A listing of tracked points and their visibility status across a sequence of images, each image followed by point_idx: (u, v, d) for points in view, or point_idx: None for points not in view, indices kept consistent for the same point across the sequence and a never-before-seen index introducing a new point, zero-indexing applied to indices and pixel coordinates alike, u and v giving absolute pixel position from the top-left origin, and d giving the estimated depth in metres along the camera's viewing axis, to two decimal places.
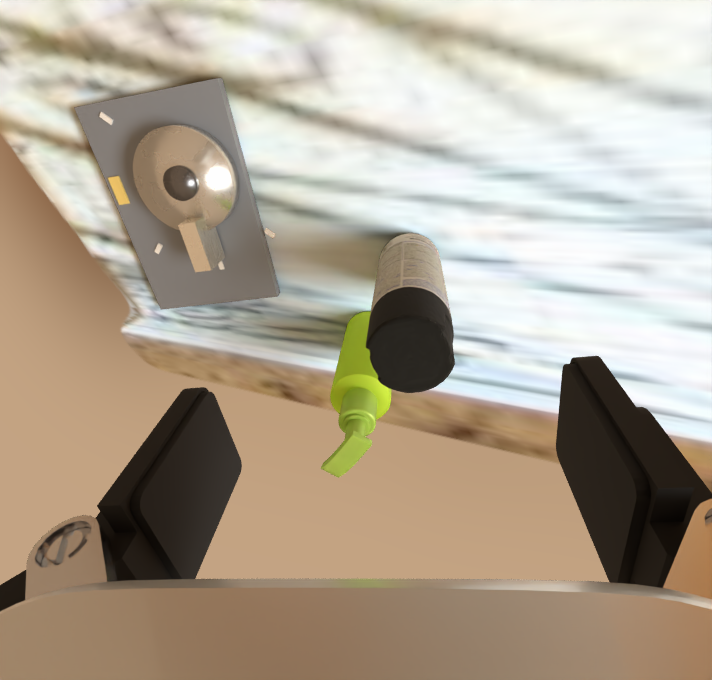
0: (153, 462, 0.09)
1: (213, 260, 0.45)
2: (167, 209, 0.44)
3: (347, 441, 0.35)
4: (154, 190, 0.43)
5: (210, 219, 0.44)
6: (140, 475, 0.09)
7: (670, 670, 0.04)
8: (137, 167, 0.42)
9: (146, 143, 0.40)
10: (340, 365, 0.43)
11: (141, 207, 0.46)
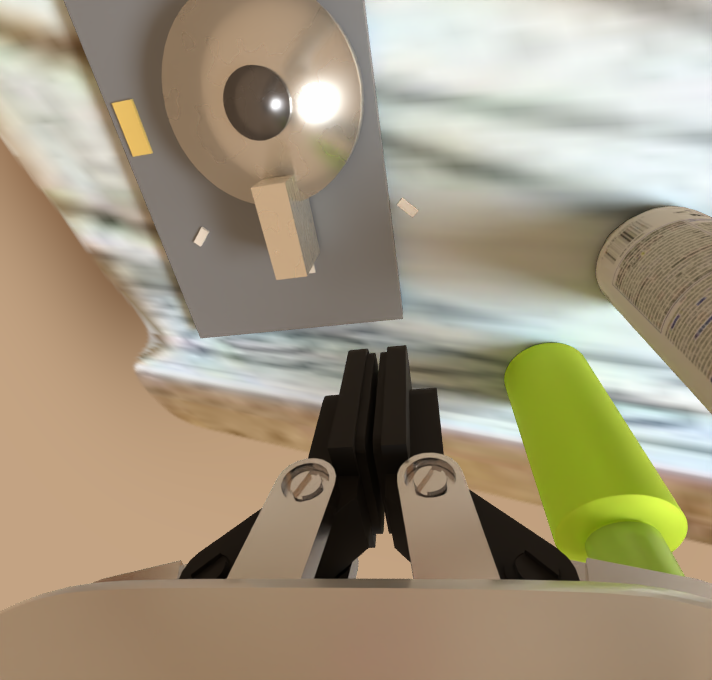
0: (359, 412, 0.09)
1: (308, 257, 0.24)
2: (226, 160, 0.23)
3: None
4: (201, 122, 0.22)
5: (307, 179, 0.23)
6: (356, 422, 0.09)
7: (670, 670, 0.04)
8: (170, 72, 0.21)
9: (190, 17, 0.20)
10: (561, 460, 0.22)
11: (173, 161, 0.25)
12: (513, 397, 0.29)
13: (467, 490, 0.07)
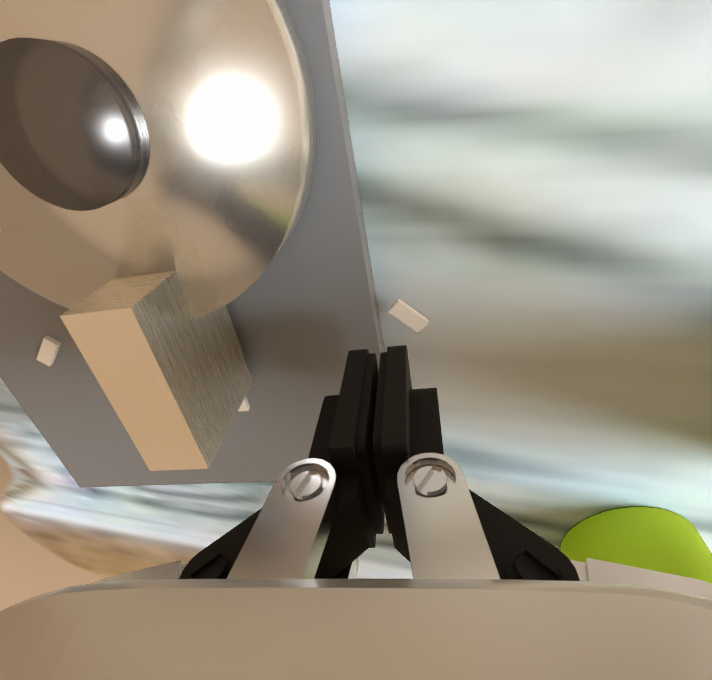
0: (359, 412, 0.09)
1: (216, 422, 0.12)
2: (34, 242, 0.11)
3: None
4: None
5: (203, 280, 0.11)
6: (355, 422, 0.09)
7: (670, 670, 0.04)
8: None
9: None
10: None
11: None
12: None
13: (467, 490, 0.07)
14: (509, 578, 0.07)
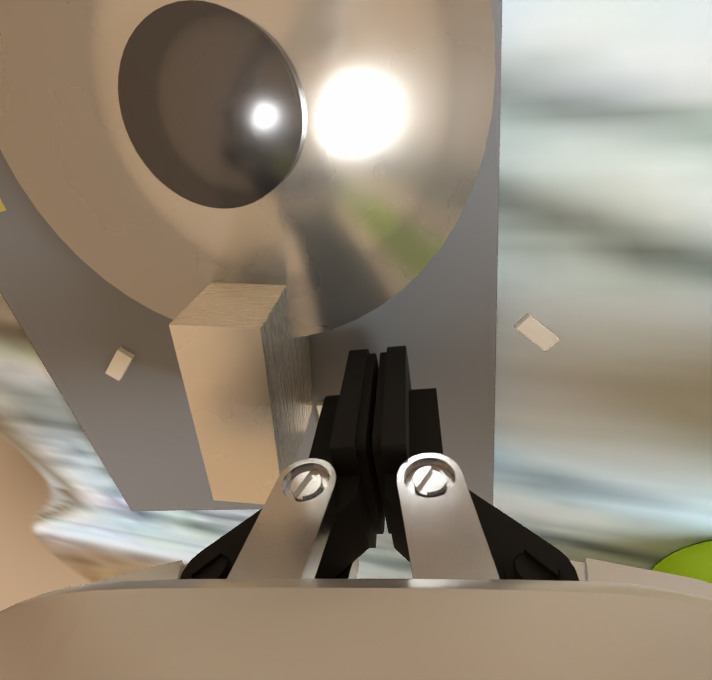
0: (359, 412, 0.09)
1: (292, 453, 0.11)
2: (127, 228, 0.10)
3: None
4: (69, 131, 0.09)
5: (315, 300, 0.10)
6: (356, 422, 0.09)
7: (670, 670, 0.04)
8: None
9: None
10: None
11: (49, 227, 0.12)
12: None
13: (467, 490, 0.07)
14: (508, 578, 0.07)
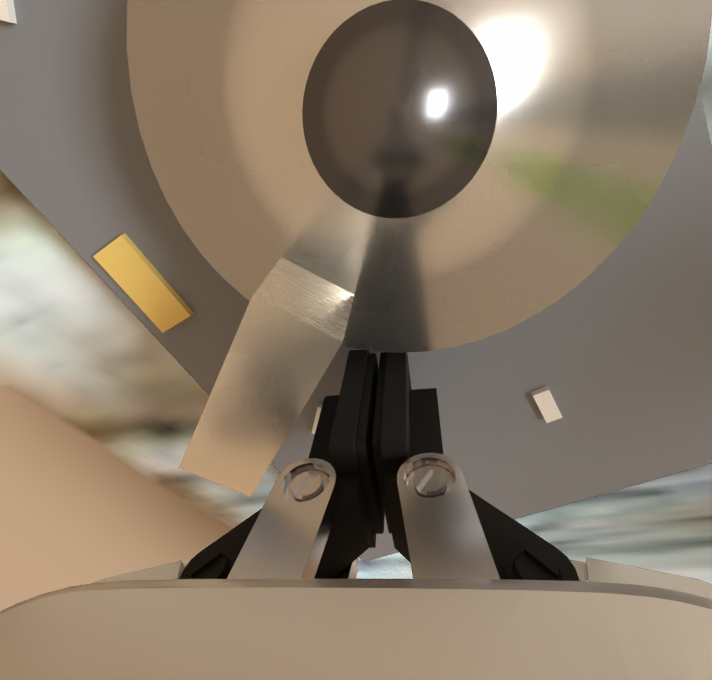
0: (359, 412, 0.09)
1: None
2: (224, 164, 0.08)
3: None
4: (223, 38, 0.07)
5: (372, 320, 0.10)
6: (356, 422, 0.09)
7: (670, 670, 0.04)
8: None
9: None
10: None
11: (232, 313, 0.13)
12: None
13: (467, 490, 0.07)
14: (509, 578, 0.07)
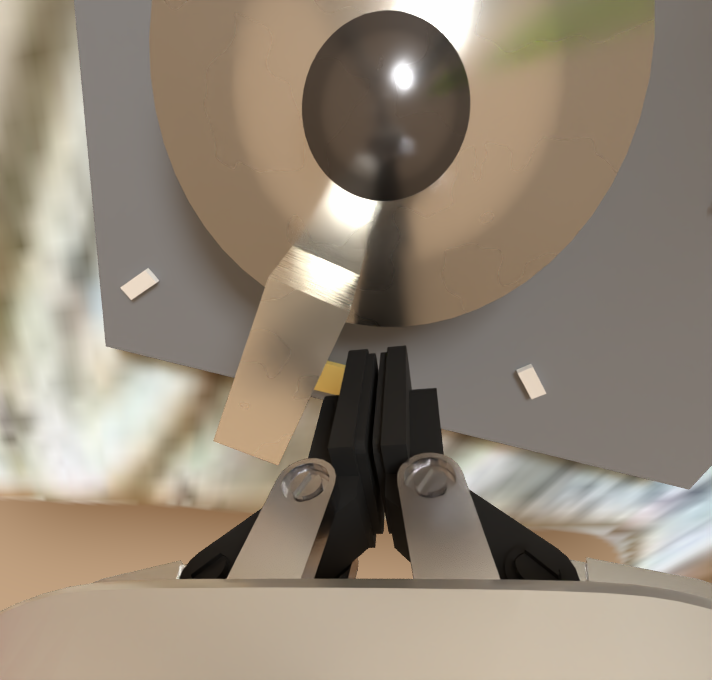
0: (358, 412, 0.09)
1: None
2: (238, 166, 0.10)
3: None
4: (231, 58, 0.09)
5: (377, 297, 0.11)
6: (356, 422, 0.09)
7: (670, 670, 0.04)
8: None
9: None
10: None
11: None
12: None
13: (467, 490, 0.07)
14: (509, 578, 0.07)
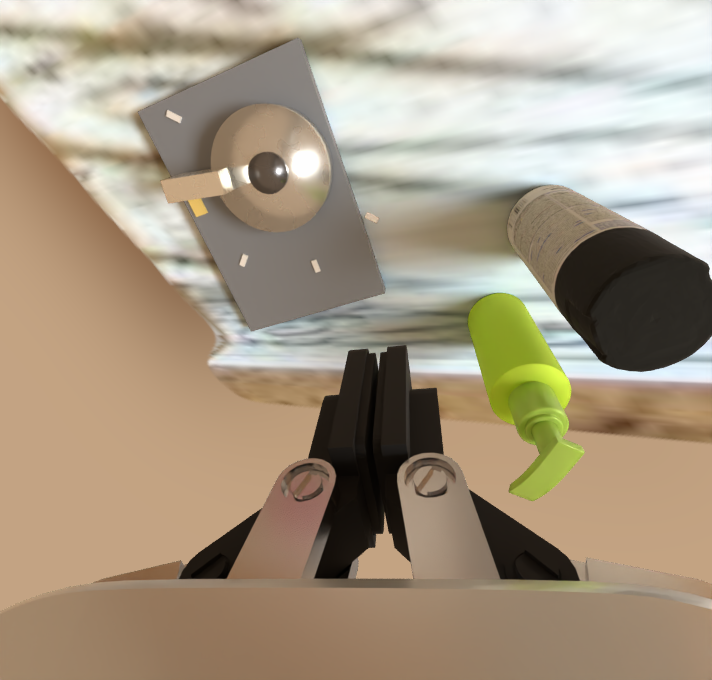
0: (359, 411, 0.09)
1: None
2: (234, 142, 0.35)
3: (550, 451, 0.26)
4: (255, 129, 0.34)
5: (231, 198, 0.37)
6: (356, 422, 0.09)
7: (670, 670, 0.04)
8: (280, 113, 0.33)
9: (309, 134, 0.34)
10: (491, 359, 0.34)
11: (220, 215, 0.40)
12: (471, 335, 0.41)
13: (467, 490, 0.07)
14: (509, 578, 0.07)
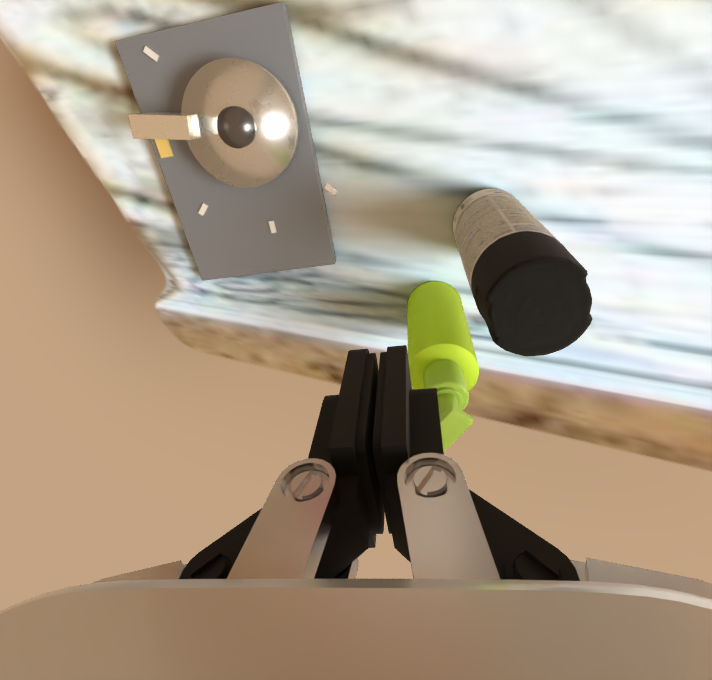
0: (358, 412, 0.09)
1: None
2: (207, 91, 0.36)
3: (445, 417, 0.30)
4: (229, 82, 0.35)
5: (198, 145, 0.38)
6: (356, 422, 0.09)
7: (670, 670, 0.04)
8: (256, 71, 0.35)
9: (280, 97, 0.35)
10: (416, 336, 0.38)
11: (186, 161, 0.41)
12: (407, 315, 0.45)
13: (467, 490, 0.07)
14: (509, 578, 0.07)
